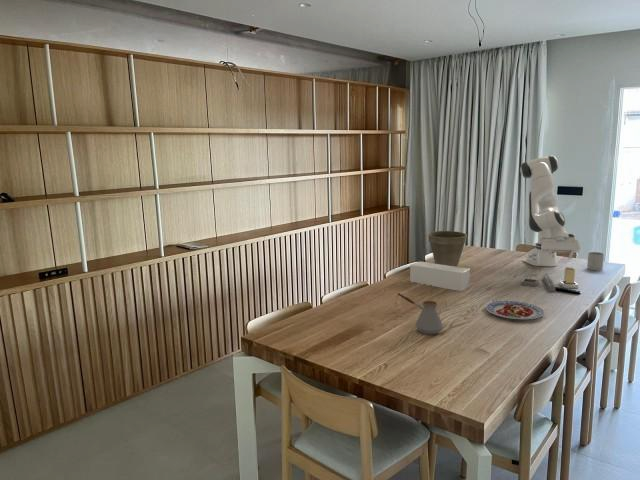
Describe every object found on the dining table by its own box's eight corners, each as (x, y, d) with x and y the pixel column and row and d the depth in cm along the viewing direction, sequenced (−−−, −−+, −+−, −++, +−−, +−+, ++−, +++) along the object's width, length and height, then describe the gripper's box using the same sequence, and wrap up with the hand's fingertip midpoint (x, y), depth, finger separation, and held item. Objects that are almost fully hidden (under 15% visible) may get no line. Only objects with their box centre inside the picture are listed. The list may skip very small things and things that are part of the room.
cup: (598, 267, 301) (599, 252, 299) (604, 270, 293) (606, 254, 291) (584, 267, 302) (586, 252, 300) (590, 270, 294) (592, 255, 292)
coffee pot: (446, 329, 204) (447, 296, 202) (436, 338, 195) (437, 304, 192) (402, 320, 217) (402, 289, 214) (390, 328, 207) (390, 296, 205)
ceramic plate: (496, 301, 240) (496, 296, 240) (550, 311, 224) (550, 305, 224) (477, 315, 221) (477, 309, 220) (535, 327, 205) (535, 321, 204)
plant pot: (465, 271, 300) (466, 237, 296) (426, 268, 308) (426, 236, 304) (466, 262, 324) (467, 231, 320) (430, 260, 332) (430, 230, 327)
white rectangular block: (410, 282, 279) (410, 264, 277) (418, 278, 287) (419, 261, 285) (461, 291, 259) (461, 272, 257) (469, 287, 267) (469, 268, 265)
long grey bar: (543, 278, 278) (543, 273, 277) (548, 279, 277) (549, 273, 276) (549, 291, 254) (549, 285, 253) (555, 291, 253) (555, 285, 252)
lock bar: (563, 285, 265) (564, 267, 263) (571, 285, 264) (572, 267, 262) (565, 287, 261) (567, 268, 259) (573, 287, 260) (574, 269, 258)
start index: (559, 283, 267) (559, 280, 266) (573, 284, 265) (574, 281, 265) (563, 287, 260) (563, 284, 259) (578, 288, 258) (578, 284, 258)
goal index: (524, 281, 274) (524, 278, 273) (538, 283, 269) (538, 279, 269) (521, 284, 267) (521, 281, 267) (535, 286, 263) (536, 283, 263)
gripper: (540, 234, 278) (543, 254, 270) (578, 235, 273) (582, 255, 265) (539, 240, 283) (541, 259, 275) (576, 241, 278) (579, 261, 270)
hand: (561, 257), depth 270 cm, fingers open, 8 cm apart
